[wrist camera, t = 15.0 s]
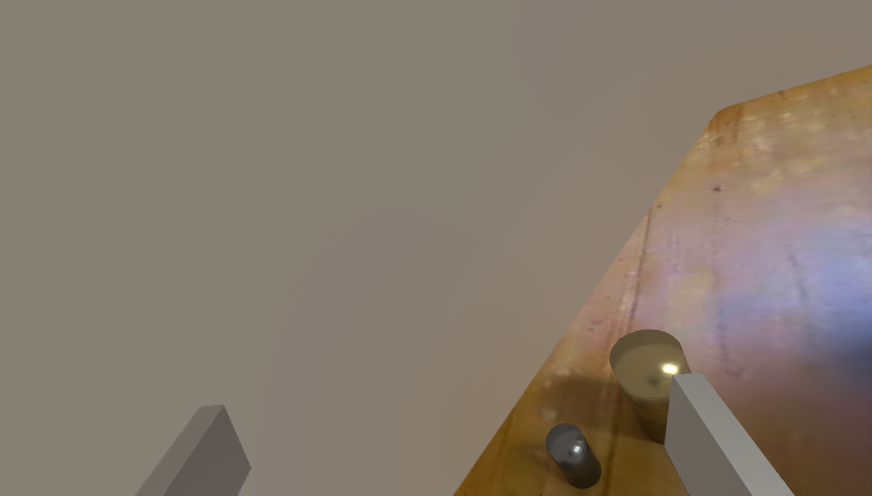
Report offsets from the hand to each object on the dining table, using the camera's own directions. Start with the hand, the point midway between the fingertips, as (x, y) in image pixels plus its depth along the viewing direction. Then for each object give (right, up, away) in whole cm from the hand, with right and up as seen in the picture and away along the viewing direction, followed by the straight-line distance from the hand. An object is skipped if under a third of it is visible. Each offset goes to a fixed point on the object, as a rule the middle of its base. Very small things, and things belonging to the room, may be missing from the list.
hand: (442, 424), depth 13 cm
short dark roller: (+14, -16, +29) cm, 36 cm away
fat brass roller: (+23, -11, +29) cm, 38 cm away
